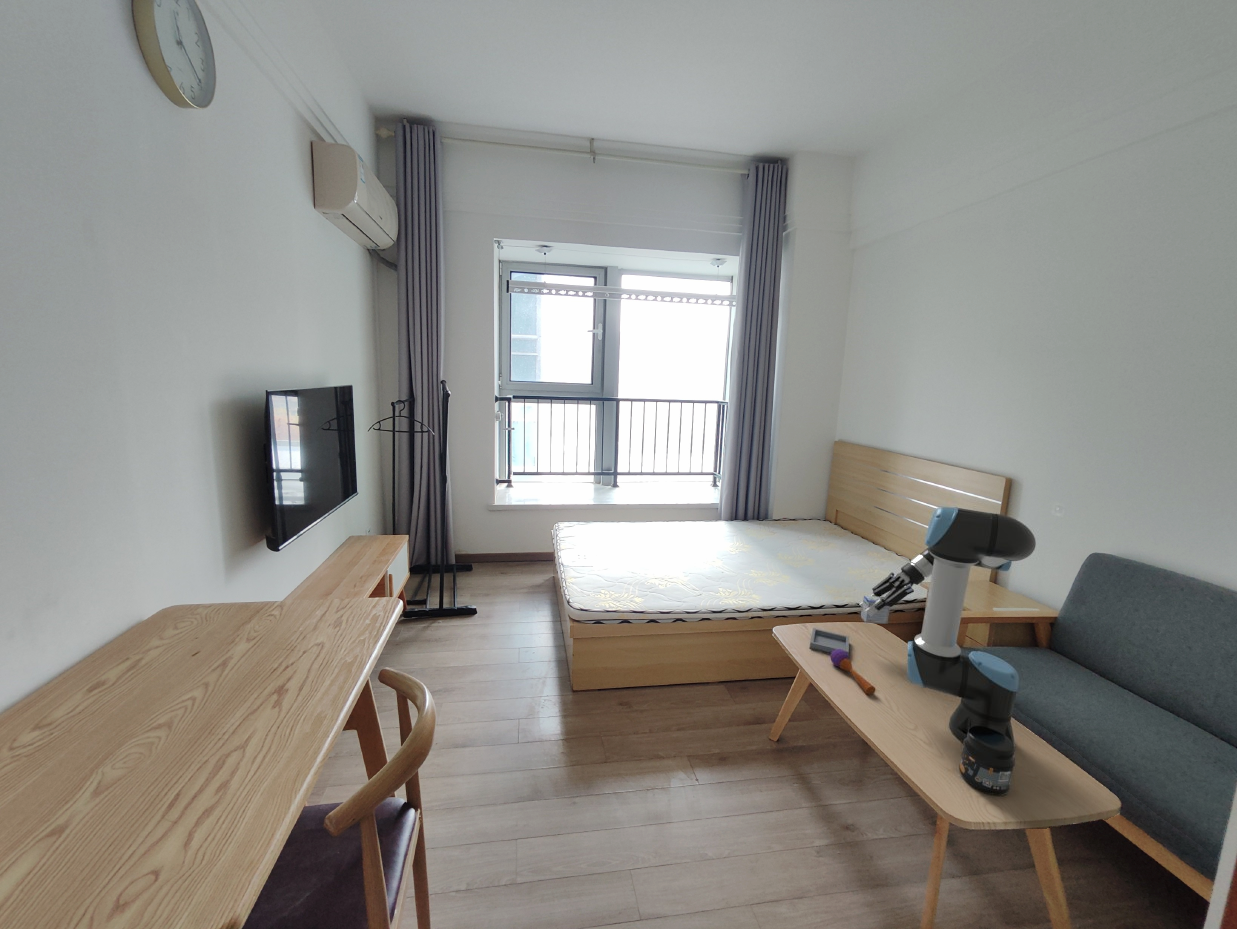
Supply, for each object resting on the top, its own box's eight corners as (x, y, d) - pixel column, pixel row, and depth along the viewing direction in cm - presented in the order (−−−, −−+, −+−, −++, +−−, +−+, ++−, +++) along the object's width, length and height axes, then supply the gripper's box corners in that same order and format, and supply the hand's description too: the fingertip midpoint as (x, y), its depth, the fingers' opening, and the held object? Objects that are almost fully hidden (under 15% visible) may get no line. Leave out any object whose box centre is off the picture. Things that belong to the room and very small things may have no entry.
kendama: (862, 684, 162) (827, 647, 181) (861, 700, 163) (827, 661, 182) (879, 680, 162) (842, 643, 181) (879, 696, 164) (842, 658, 183)
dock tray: (847, 658, 184) (848, 651, 184) (809, 648, 190) (810, 642, 189) (848, 642, 196) (849, 636, 196) (812, 633, 201) (813, 627, 201)
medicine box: (881, 618, 190) (885, 596, 189) (887, 624, 186) (891, 601, 184) (860, 617, 190) (863, 595, 189) (865, 622, 186) (868, 600, 184)
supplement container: (962, 759, 136) (970, 718, 134) (1011, 781, 129) (1020, 739, 127) (953, 779, 129) (961, 736, 127) (1005, 805, 122) (1014, 760, 120)
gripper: (937, 587, 176) (882, 629, 179) (911, 568, 193) (860, 607, 196) (924, 571, 175) (868, 613, 178) (898, 554, 192) (848, 593, 196)
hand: (864, 610), depth 187 cm, fingers closed on medicine box, 4 cm apart
